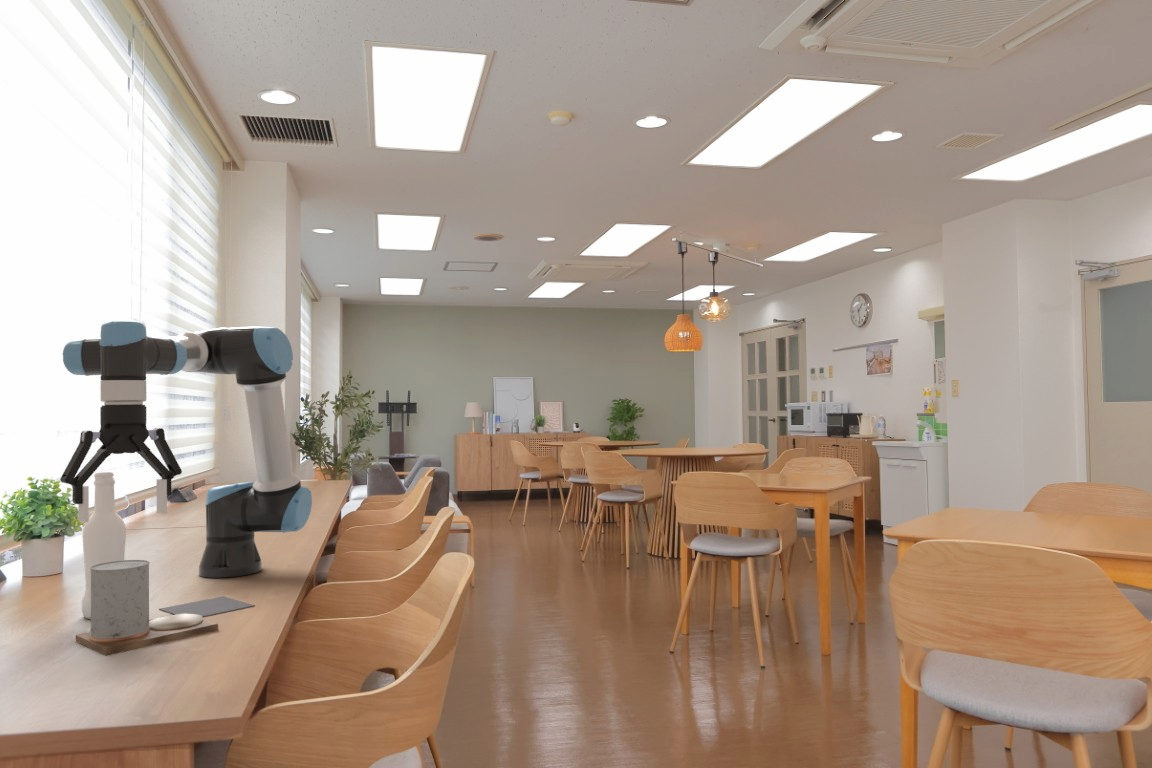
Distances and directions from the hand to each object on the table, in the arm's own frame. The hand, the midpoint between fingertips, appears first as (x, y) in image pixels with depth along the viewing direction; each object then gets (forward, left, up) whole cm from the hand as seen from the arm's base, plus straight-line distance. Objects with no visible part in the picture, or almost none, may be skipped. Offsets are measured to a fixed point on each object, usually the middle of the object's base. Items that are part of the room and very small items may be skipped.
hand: (124, 517), depth 150 cm
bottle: (-5, -23, -23) cm, 33 cm away
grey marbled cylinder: (+1, +1, -21) cm, 21 cm away
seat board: (-4, +1, -23) cm, 23 cm away
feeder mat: (-21, -11, -23) cm, 33 cm away
